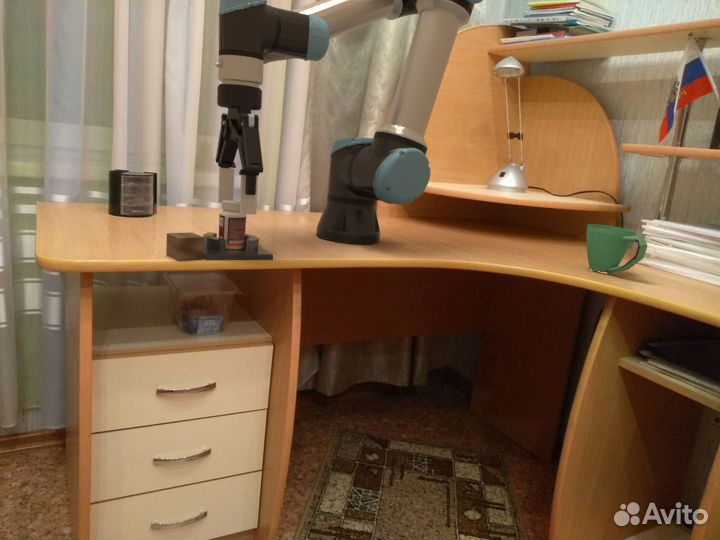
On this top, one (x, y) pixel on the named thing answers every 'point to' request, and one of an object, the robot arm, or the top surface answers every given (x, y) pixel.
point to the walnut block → (185, 246)
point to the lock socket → (251, 250)
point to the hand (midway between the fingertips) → (236, 208)
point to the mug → (611, 247)
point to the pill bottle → (232, 225)
